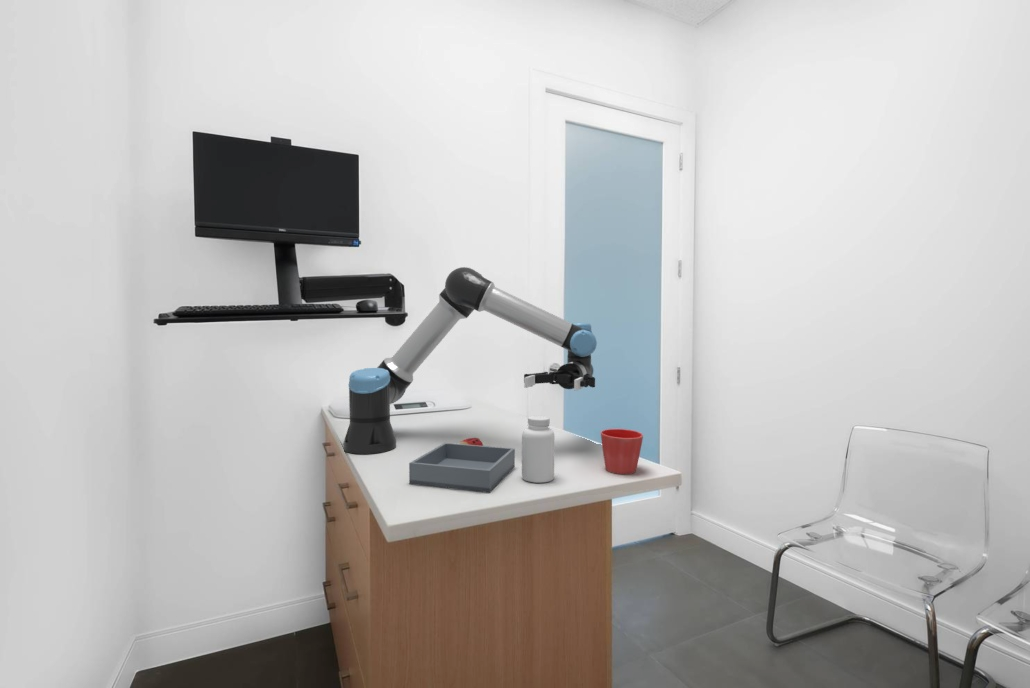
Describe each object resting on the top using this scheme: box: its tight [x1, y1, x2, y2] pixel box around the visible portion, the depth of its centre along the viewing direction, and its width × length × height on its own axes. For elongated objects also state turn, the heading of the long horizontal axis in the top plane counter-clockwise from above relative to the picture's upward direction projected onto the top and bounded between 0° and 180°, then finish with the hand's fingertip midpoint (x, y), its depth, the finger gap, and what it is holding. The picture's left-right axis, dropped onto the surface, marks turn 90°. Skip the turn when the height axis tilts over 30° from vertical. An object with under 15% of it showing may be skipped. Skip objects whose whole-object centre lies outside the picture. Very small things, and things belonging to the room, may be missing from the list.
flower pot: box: [600, 428, 644, 475], centre depth 129 cm, size 11×11×10 cm
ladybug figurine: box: [458, 437, 484, 446], centre depth 147 cm, size 7×10×4 cm
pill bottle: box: [521, 415, 555, 484], centre depth 121 cm, size 8×8×15 cm
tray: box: [408, 442, 516, 494], centre depth 124 cm, size 20×20×5 cm
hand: (550, 383), depth 130 cm, fingers open, 13 cm apart
